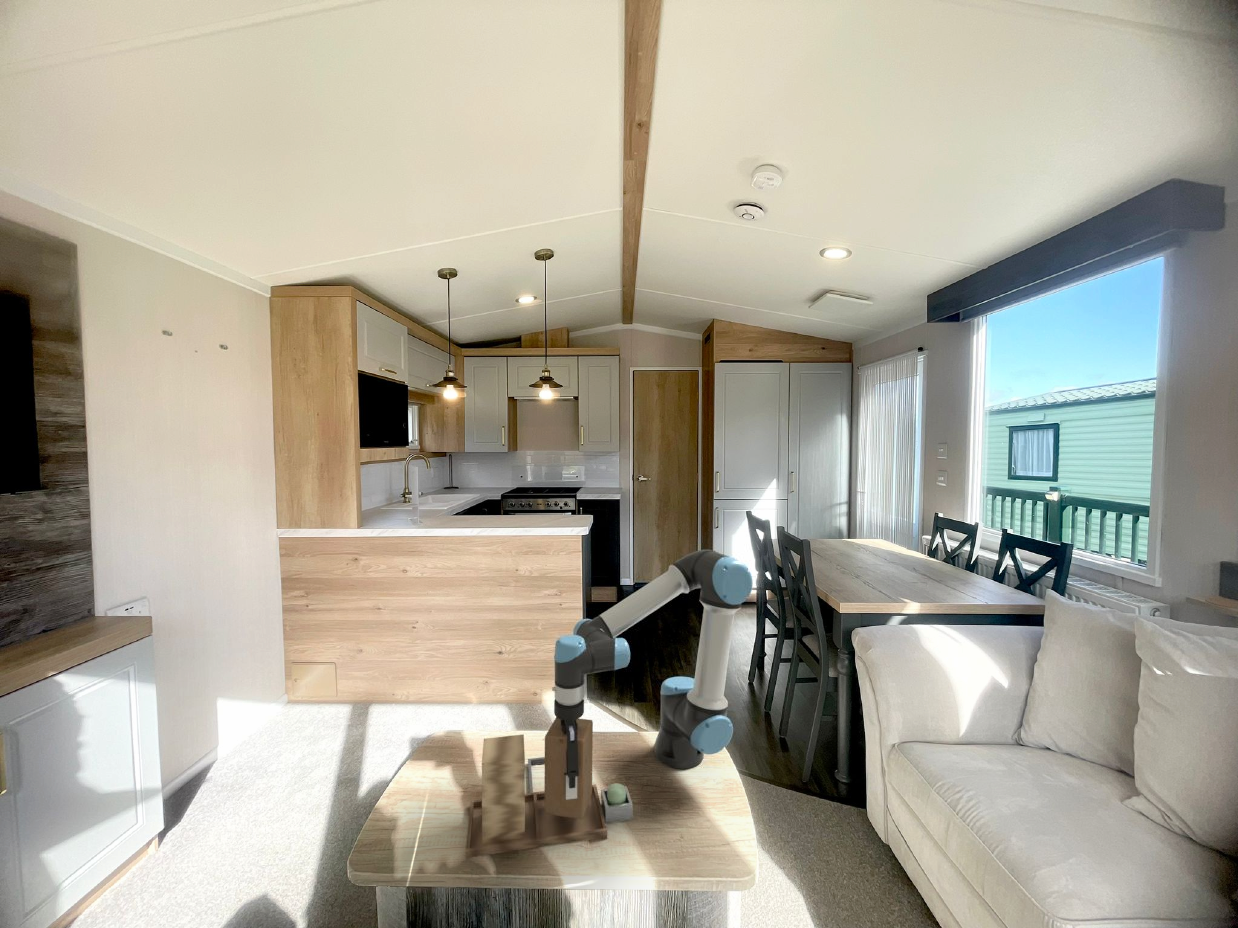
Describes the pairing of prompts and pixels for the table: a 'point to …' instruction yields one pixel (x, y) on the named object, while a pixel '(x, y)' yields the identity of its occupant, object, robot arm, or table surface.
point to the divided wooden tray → (539, 827)
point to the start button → (616, 794)
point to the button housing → (616, 808)
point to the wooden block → (558, 766)
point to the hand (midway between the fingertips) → (568, 780)
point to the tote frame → (531, 762)
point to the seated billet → (503, 789)
